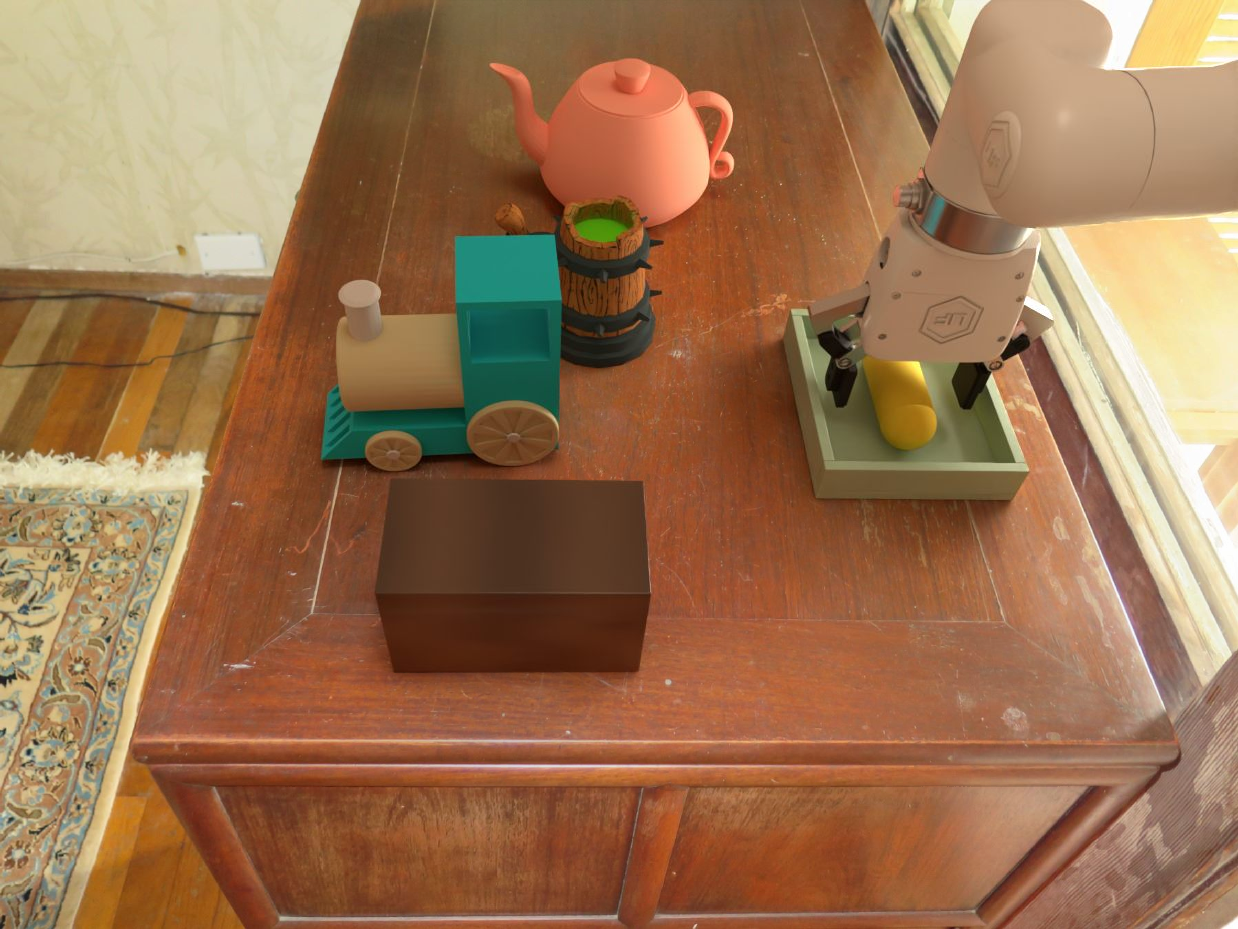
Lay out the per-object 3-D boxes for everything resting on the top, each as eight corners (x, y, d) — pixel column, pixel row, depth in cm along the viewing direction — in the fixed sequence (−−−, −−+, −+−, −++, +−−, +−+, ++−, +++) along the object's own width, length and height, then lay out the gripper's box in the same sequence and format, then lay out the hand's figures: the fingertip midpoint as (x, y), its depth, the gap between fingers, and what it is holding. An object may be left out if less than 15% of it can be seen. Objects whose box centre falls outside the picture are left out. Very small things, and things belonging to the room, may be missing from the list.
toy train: (330, 394, 74) (292, 231, 63) (551, 386, 76) (553, 227, 65) (322, 476, 69) (278, 316, 58) (558, 466, 71) (562, 308, 60)
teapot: (490, 237, 87) (483, 109, 78) (499, 138, 97) (494, 13, 88) (736, 246, 89) (760, 121, 79) (721, 147, 99) (740, 25, 89)
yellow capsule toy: (936, 460, 73) (948, 423, 69) (881, 462, 73) (891, 426, 69) (903, 355, 80) (913, 317, 76) (853, 357, 80) (861, 320, 76)
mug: (653, 286, 84) (667, 169, 76) (662, 371, 78) (678, 254, 69) (500, 283, 84) (496, 164, 75) (496, 369, 77) (491, 250, 68)
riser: (633, 564, 66) (643, 480, 59) (638, 672, 61) (651, 594, 54) (406, 563, 65) (390, 477, 58) (393, 672, 60) (374, 593, 53)
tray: (1012, 500, 72) (1030, 471, 69) (815, 498, 71) (825, 469, 68) (955, 342, 82) (968, 312, 80) (782, 338, 81) (790, 308, 79)
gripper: (850, 238, 59) (793, 430, 72) (1130, 246, 60) (1024, 434, 73) (828, 165, 63) (779, 358, 77) (1088, 174, 65) (995, 362, 78)
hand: (898, 395), depth 75 cm, fingers open, 9 cm apart
